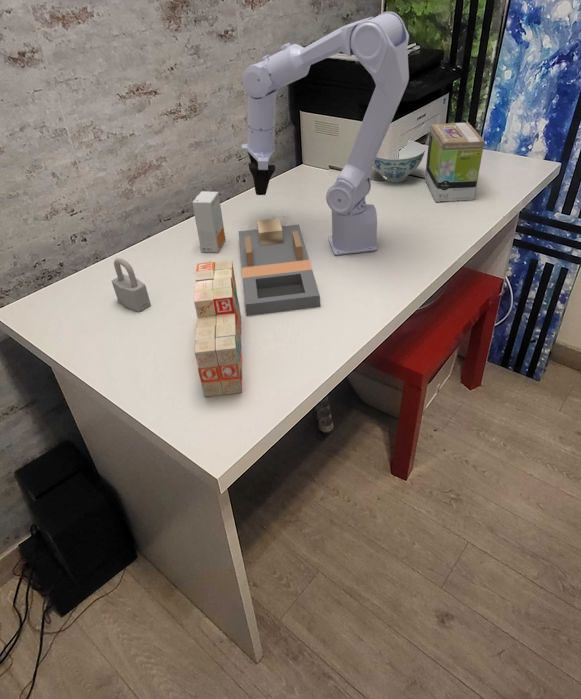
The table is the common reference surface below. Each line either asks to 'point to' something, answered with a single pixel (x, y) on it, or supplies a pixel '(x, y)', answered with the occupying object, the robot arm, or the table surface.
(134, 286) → the padlock
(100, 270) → the table surface
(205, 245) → the skincare box
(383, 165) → the chinaware
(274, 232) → the birch block
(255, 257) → the tunnel deck
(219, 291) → the stack of blocks
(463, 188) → the tea box
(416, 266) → the table surface
